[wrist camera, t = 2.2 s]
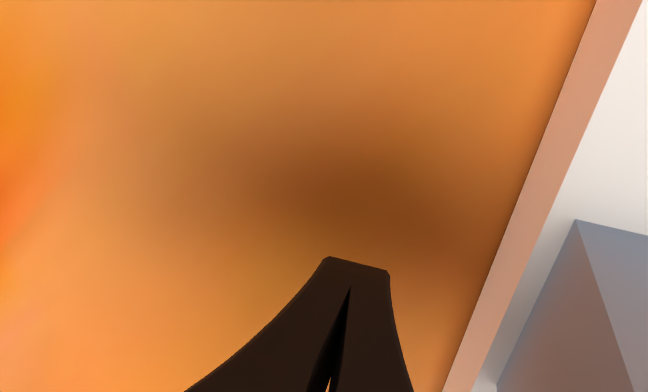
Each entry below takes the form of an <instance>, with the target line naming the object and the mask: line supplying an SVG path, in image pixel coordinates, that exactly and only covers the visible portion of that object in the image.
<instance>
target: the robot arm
mask: <svg viewBox="0 0 648 392" xmlns="http://www.w3.org/2000/svg"><path fill="white" fill-rule="evenodd" d="M330 378H331V379H330ZM329 380H330V386H329V392H414V391H413V387H412V384H411V381H410V378H409V375H408V372H407V368H406V365H405V361H404V358H403V354H402V350H401V346H400V342H399V338H398V334H397V330H396V325H395V320H394V314H393V308H392V301H391V292H390V275H389V274H388V272H387V271H386V270H383V269H379V268H375V267H371V266H367V265H363V264H359V263H355V262H351V261H347V260H343V259H339V258H335V257H331V256H329V257H327V258H325V259H323V260H322V262H321V264H320V265H319V267H318V268H317V269H316V271H315V272H314V274H313V275H312V276H311V278H310V279H309V280H308V281H307V283H306V284H305V285H304V286H303V287H302V288H301V290H300V291H299V292H298V293H297V294H296V295H295V297H294V298H293V299H292V300H291V301H290V302H289V303H288V304H287V305H286V306H285V307H284V308H283V309H282V310H281V311H280V313H279V314H278V315H277V316H276V317H275V318H274V319H273V320H272V321H271V322H269V323H268V324H267V325H266V326H265V327H264V328H263V329H262V330H261V331H260V332H259V333H258V334H257V335H255V336H254V337H253V338H252V339H251V340H250V341H249V342H248V343H247V344H246V345H244V346H243V347H242V348H241V349H240V350H239V351H237V352H236V353H235V354H234V355H233V356H231V357H230V358H229V359H228V360H226V361H225V362H224V363H223V364H221V365H220V366H219V367H217V368H216V369H215V370H214V371H212V372H211V373H210V374H208V375H207V376H205V377H204V378H203V379H201V380H200V381H198V382H197V383H195V384H194V385H193V386H191V387H190V388H188V389H187V390H186V391H184V392H325V391H326V389H327V386H328V383H329Z"/></svg>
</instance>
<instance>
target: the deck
mask: <svg viewBox="0 0 648 392" xmlns="http://www.w3.org/2000/svg"><path fill="white" fill-rule="evenodd" d="M575 219H578V220H582V221H586V222H591V223H595V224H599V225H604V226H608V227H612V228H617V229H621V230H625V231H630V232H634V233H638V234H643V235H647V236H648V0H597V1H596V4H595V6H594V9H593V11H592V14H591V16H590V19H589V21H588V24H587V26H586V29H585V31H584V34H583V36H582V39H581V41H580V44H579V47H578V49H577V52H576V54H575V57H574V59H573V62H572V64H571V67H570V69H569V72H568V74H567V77H566V79H565V82H564V84H563V87H562V89H561V92H560V95H559V97H558V100H557V102H556V105H555V107H554V110H553V112H552V115H551V117H550V120H549V122H548V125H547V127H546V130H545V132H544V135H543V137H542V140H541V143H540V145H539V148H538V150H537V153H536V155H535V158H534V160H533V163H532V165H531V168H530V170H529V173H528V175H527V178H526V180H525V183H524V185H523V188H522V191H521V193H520V196H519V198H518V201H517V203H516V206H515V208H514V211H513V213H512V216H511V218H510V221H509V223H508V226H507V228H506V231H505V233H504V236H503V239H502V241H501V244H500V246H499V249H498V251H497V254H496V256H495V259H494V261H493V264H492V266H491V269H490V271H489V274H488V276H487V279H486V281H485V284H484V287H483V289H482V292H481V294H480V297H479V299H478V302H477V304H476V307H475V309H474V312H473V314H472V317H471V319H470V322H469V324H468V327H467V329H466V332H465V335H464V337H463V340H462V342H461V345H460V347H459V350H458V352H457V355H456V357H455V360H454V362H453V365H452V367H451V370H450V372H449V375H448V377H447V380H446V383H445V385H444V388H443V390H442V392H497V387H496V384H497V382H498V380H499V378H500V376H501V374H502V372H503V370H504V368H505V365H506V363H507V361H508V359H509V357H510V355H511V353H512V351H513V349H514V347H515V344H516V342H517V340H518V338H519V336H520V334H521V332H522V330H523V328H524V325H525V323H526V321H527V319H528V317H529V315H530V313H531V311H532V309H533V306H534V304H535V302H536V300H537V298H538V296H539V294H540V292H541V290H542V287H543V285H544V283H545V281H546V279H547V277H548V275H549V273H550V271H551V268H552V266H553V264H554V262H555V260H556V258H557V256H558V254H559V252H560V249H561V247H562V245H563V243H564V241H565V239H566V237H567V235H568V233H569V230H570V228H571V226H572V224H573V222H574V220H575Z"/></svg>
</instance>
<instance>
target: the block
mask: <svg viewBox="0 0 648 392" xmlns="http://www.w3.org/2000/svg"><path fill="white" fill-rule="evenodd" d="M496 387H497V392H648V236H647V235H643V234H638V233H634V232H630V231H625V230H621V229H617V228H612V227H608V226H604V225H599V224H595V223H591V222H586V221H582V220H578V219H575V220H574V222H573V224H572V226H571V228H570V230H569V233H568V235H567V237H566V239H565V241H564V243H563V245H562V247H561V249H560V252H559V254H558V256H557V258H556V260H555V262H554V264H553V266H552V268H551V271H550V273H549V275H548V277H547V279H546V281H545V283H544V285H543V287H542V290H541V292H540V294H539V296H538V298H537V300H536V302H535V304H534V306H533V309H532V311H531V313H530V315H529V317H528V319H527V321H526V323H525V325H524V328H523V330H522V332H521V334H520V336H519V338H518V340H517V342H516V344H515V347H514V349H513V351H512V353H511V355H510V357H509V359H508V361H507V363H506V365H505V368H504V370H503V372H502V374H501V376H500V378H499V380H498V382H497V384H496Z"/></svg>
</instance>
